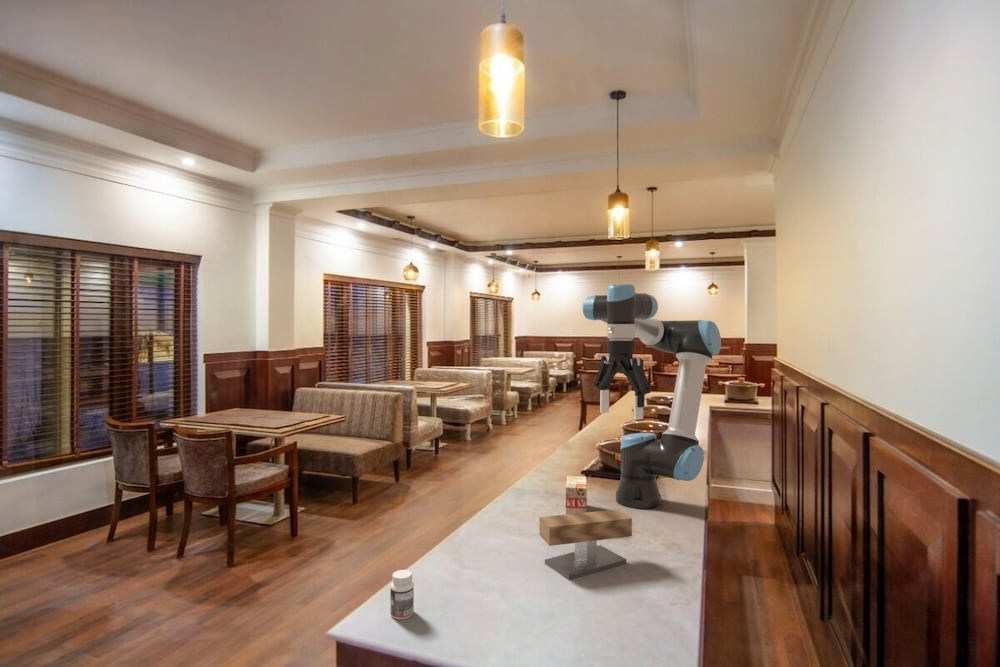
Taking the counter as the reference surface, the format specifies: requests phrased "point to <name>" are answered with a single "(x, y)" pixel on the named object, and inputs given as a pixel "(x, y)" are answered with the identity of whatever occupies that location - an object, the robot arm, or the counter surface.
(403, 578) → the pill bottle
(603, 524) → the board
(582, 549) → the fulcrum
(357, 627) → the counter surface
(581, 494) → the stack of blocks
